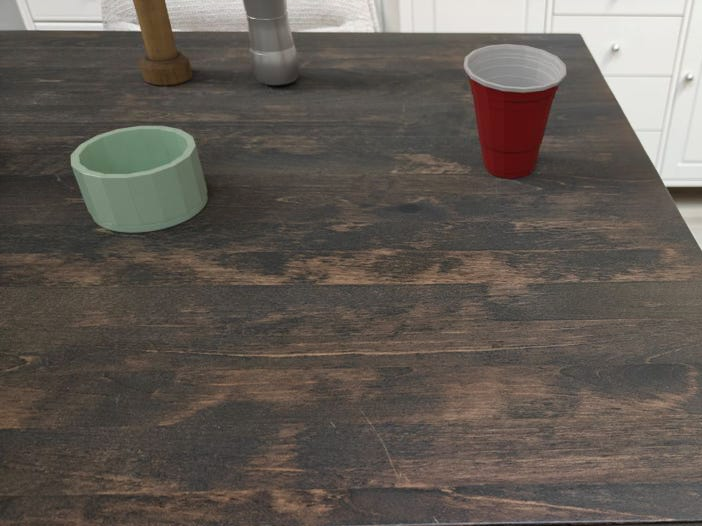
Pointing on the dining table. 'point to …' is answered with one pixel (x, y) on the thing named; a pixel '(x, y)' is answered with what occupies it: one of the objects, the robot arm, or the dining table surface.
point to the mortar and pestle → (160, 46)
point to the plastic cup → (512, 103)
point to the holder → (140, 178)
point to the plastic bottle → (271, 42)
